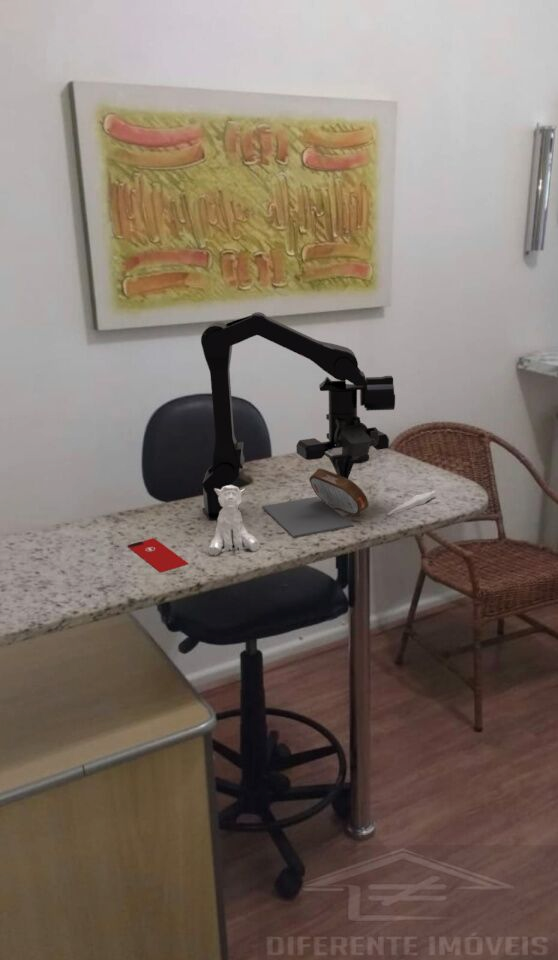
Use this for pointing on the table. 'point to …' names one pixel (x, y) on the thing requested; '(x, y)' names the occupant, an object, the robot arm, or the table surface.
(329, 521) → the mat
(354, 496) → the tin
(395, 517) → the table surface
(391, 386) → the robot arm
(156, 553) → the electronic device
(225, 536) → the white creature statuette
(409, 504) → the white tapered figurine
